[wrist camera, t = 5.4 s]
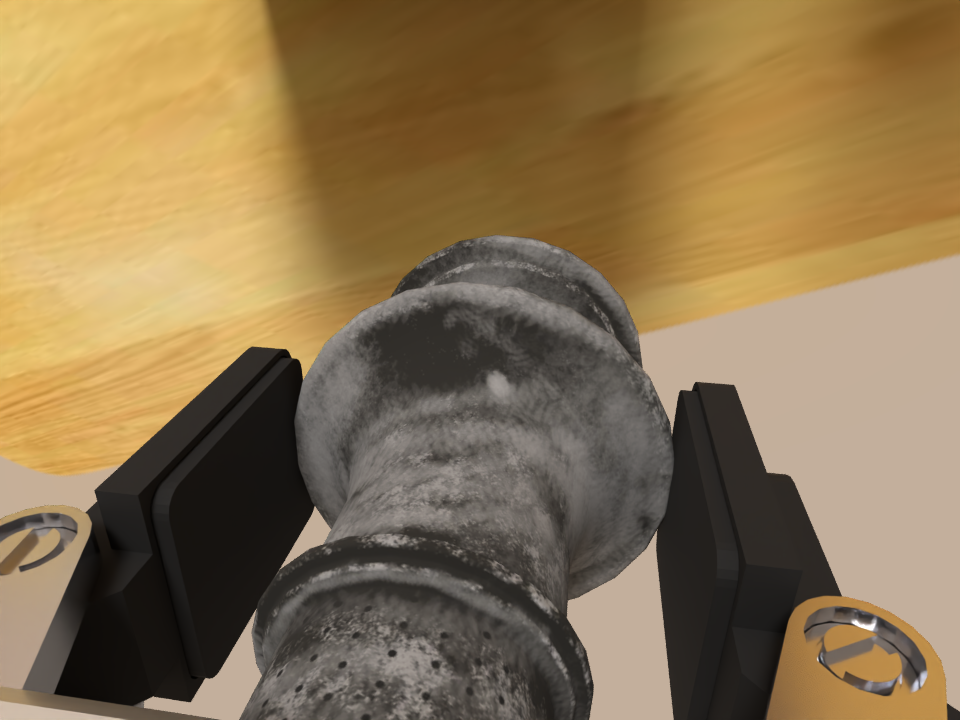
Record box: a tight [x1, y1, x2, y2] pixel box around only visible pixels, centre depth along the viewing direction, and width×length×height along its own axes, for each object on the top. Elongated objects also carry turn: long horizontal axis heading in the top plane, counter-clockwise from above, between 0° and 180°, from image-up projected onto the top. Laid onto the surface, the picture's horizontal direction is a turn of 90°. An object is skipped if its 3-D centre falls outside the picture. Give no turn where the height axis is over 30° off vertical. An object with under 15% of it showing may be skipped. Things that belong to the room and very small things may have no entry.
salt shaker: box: [239, 235, 674, 720], centre depth 8 cm, size 6×6×12 cm
